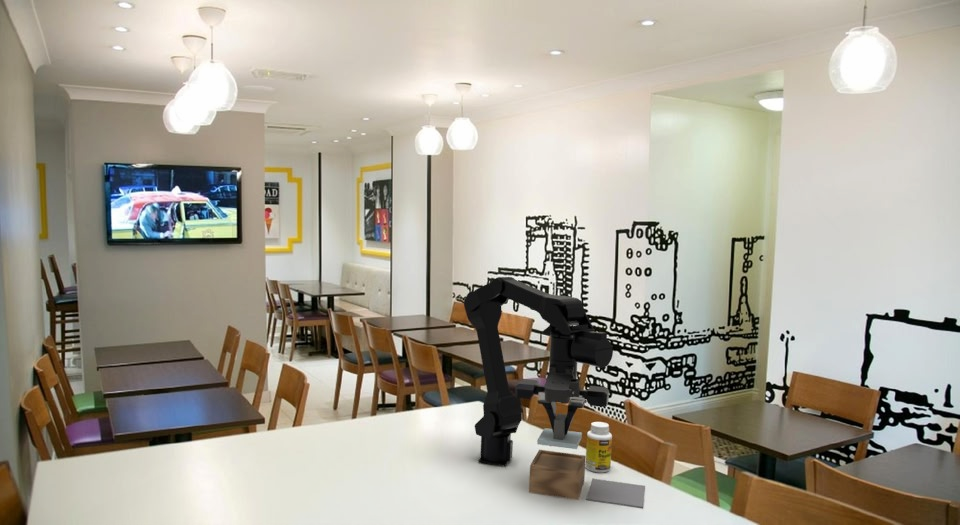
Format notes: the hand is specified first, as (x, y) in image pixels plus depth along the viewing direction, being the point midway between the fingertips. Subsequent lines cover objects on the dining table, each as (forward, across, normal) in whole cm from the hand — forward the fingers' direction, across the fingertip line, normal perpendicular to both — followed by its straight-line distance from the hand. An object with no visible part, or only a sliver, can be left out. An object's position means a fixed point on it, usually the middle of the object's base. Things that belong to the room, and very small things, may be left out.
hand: (560, 433), depth 136 cm
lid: (+2, 0, 0) cm, 2 cm away
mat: (+11, +12, +1) cm, 16 cm away
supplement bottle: (+12, +7, +14) cm, 19 cm away
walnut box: (+11, 0, 0) cm, 11 cm away
